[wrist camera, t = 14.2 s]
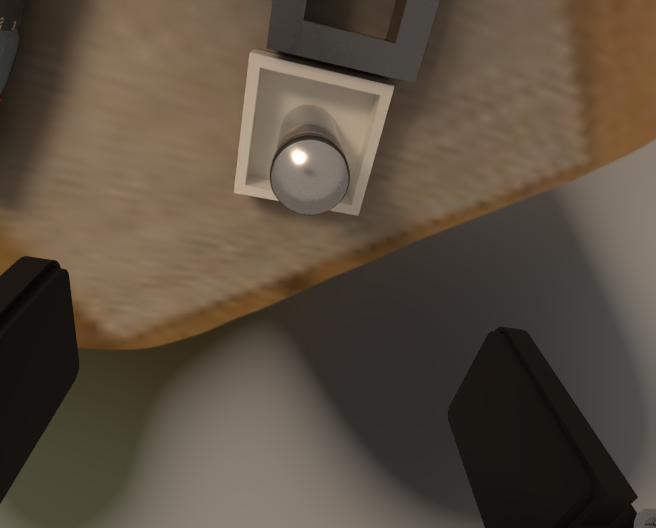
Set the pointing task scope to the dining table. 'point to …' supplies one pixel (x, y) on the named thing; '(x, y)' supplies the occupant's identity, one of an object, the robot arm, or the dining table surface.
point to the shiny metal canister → (309, 162)
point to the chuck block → (356, 39)
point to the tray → (309, 89)
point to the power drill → (9, 36)
